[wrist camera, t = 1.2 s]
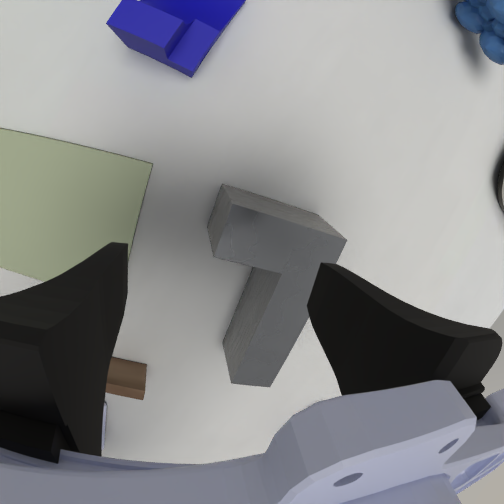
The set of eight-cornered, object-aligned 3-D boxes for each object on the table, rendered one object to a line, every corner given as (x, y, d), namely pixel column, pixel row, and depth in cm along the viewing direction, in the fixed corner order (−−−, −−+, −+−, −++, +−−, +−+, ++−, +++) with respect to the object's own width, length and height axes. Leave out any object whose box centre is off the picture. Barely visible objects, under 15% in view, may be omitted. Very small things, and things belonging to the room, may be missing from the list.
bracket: (256, 347, 26) (270, 387, 22) (173, 333, 24) (174, 375, 20) (318, 214, 22) (347, 239, 18) (222, 183, 20) (232, 203, 16)
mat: (120, 299, 22) (119, 302, 22) (-43, 249, 17) (-45, 251, 17) (153, 163, 18) (152, 164, 18) (-35, 121, 14) (-38, 122, 13)
